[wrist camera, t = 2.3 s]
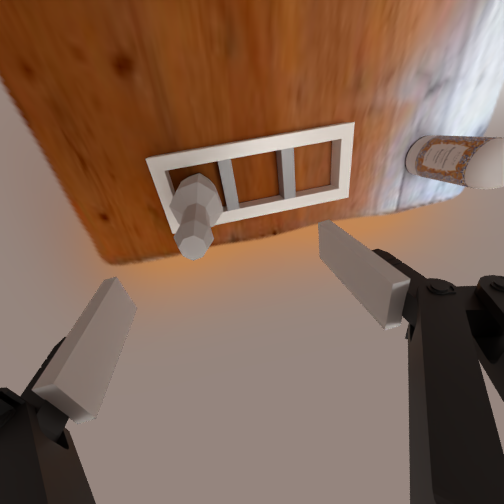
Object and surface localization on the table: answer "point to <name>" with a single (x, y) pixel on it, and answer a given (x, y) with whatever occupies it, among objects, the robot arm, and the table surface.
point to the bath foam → (459, 160)
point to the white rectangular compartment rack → (285, 164)
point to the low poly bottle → (195, 215)
